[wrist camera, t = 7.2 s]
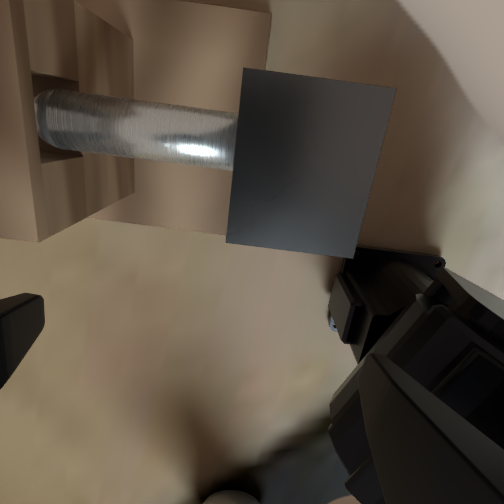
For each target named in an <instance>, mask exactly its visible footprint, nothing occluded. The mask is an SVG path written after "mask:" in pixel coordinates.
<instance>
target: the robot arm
mask: <svg viewBox="0 0 504 504" xmlns="http://www.w3.org/2000/svg"><path fill="white" fill-rule="evenodd" d="M355 250H356V251H357V254H356V255H354V257H353V259H352V258H344V261H343V265H342V269H341V273H338V274H337V275H336V276H335V280H334V285H333V289H332V293H331V297H330V301H329V305H328V307H329V310H330V312H331V314H330V318H329V326H330V329H331V330H333V331H337V332H338V334H339V336H340V339H341V340H342V342H343V343H344V344H350V346H351V349H352V351H353V354H354V356H355V359H356V361H357V364H358V365H357V366H356V368H355V369H354V370H353V371H352V373H351V374H350V375H349V376H348V377H347V379H346V380H345V381H344V382H343V384H342V385H341V386H340V387H339V388H338V390H337V391H336V392H335V393H334V395H333V397H332V400H331V402H330V416H331V423H332V424H331V425H330V426H329V428H328V432H329V435H330V438H331V441H332V443H333V446H334V448H335V451H336V453H337V454H338V456H339V458H340V460H341V462H342V463H343V465H344V467H345V469H346V470H347V472H348V474H349V475H350V477H349V478H348V479H347V480H346V481H345V487H346V488H347V490H348V491H349V492H350V493H351V494H352V495H353V496H354V497H355V498H356V499H357V500H358V501H359V502H360V503H361V504H504V300H502V299H501V298H499V297H497V296H495V295H493V294H492V293H490V292H488V291H486V290H484V289H483V288H481V287H479V286H477V285H475V284H474V283H472V282H470V281H468V280H466V279H465V278H463V277H461V276H459V275H457V274H456V273H454V272H452V271H450V270H448V269H447V268H445V264H446V262H445V260H444V259H443V258H442V257H440V256H438V255H432V254H424V253H416V252H408V251H400V250H392V249H384V248H376V247H368V246H360V245H356V249H355ZM436 261H439V263H438V264H437V265H435V266H434V263H435V262H436ZM44 323H45V315H44V299H43V297H42V296H41V295H36V294H31V293H22V294H19V295H15V296H11V297H8V298H4V299H0V389H1V388H2V387H3V386H4V384H5V383H6V382H7V381H8V379H9V378H10V377H11V375H12V374H13V372H14V371H15V370H16V368H17V367H18V365H19V364H20V362H21V361H22V359H23V358H24V356H25V355H26V353H27V352H28V350H29V349H30V347H31V346H32V345H33V343H34V342H35V340H36V339H37V337H38V336H39V334H40V333H41V331H42V329H43V327H44ZM334 323H335V325H333V324H334Z"/></svg>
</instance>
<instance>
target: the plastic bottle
mask: <svg viewBox="0 0 504 504" xmlns="http://www.w3.org/2000/svg"><path fill="white" fill-rule="evenodd" d="M203 504H260V503H259V502H258V501H257V499H256V498H254V497H253V496H251V495H250V494H248V493H245V492H242V491H237V490H224V491H219V492H216V493H214V494H212V495H210V496H209V497H208V498H207V499H206V500H205V502H204V503H203Z"/></svg>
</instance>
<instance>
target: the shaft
mask: <svg viewBox="0 0 504 504" xmlns="http://www.w3.org/2000/svg"><path fill="white" fill-rule="evenodd" d="M396 89H397V88H390V87H383V86H376V85H368V84H361V83H354V82H347V81H339V80H332V79H325V78H317V77H310V76H303V75H296V74H288V73H281V72H274V71H266V70H259V69H252V68H245V67H243V74H242V84H241V94H240V104H239V113H234V112H226V111H219V110H211V109H204V108H196V107H189V106H181V105H174V104H166V103H159V102H152V101H144V100H137V99H129V98H122V97H114V96H107V95H99V94H92V93H84V92H77V91H70V90H62V89H51V90H46V91H44V92H42V93H40V94H39V95H38V96H37V97H36V98H35V99H34V105H35V114H36V123H37V133H38V135H39V136H40V137H41V139H43V140H44V141H45V142H47V143H48V144H50V145H52V146H54V147H57V148H61V149H67V150H74V151H82V152H90V153H97V154H105V155H113V156H121V157H128V158H136V159H144V160H151V161H159V162H167V163H174V164H182V165H190V166H197V167H205V168H213V169H220V170H228V171H233V174H232V184H231V194H230V204H229V214H228V223H227V233H226V243H232V244H240V245H248V246H256V247H264V248H272V249H280V250H288V251H296V252H304V253H312V254H320V255H328V256H336V257H344V258H352V259H353V257H354V253H355V249H356V245H357V241H358V237H359V234H360V230H361V226H362V222H363V218H364V214H365V210H366V206H367V202H368V199H369V195H370V191H371V187H372V183H373V179H374V175H375V171H376V167H377V163H378V160H379V156H380V152H381V148H382V144H383V140H384V136H385V132H386V128H387V124H388V121H389V117H390V113H391V109H392V105H393V101H394V97H395V93H396Z"/></svg>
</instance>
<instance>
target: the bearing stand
mask: <svg viewBox="0 0 504 504" xmlns="http://www.w3.org/2000/svg"><path fill="white" fill-rule="evenodd" d="M271 19H272V13H265V12H258V11H251V10H244V9H237V8H230V7H223V6H216V5H209V4H202V3H194V2H187V1H180V0H0V238H4V239H12V240H20V241H28V242H36V243H39V242H41V241H43V240H44V239H46V238H48V237H50V236H52V235H54V234H56V233H58V232H60V231H62V230H64V229H66V228H67V227H69V226H71V225H73V224H75V223H77V222H79V221H81V220H83V219H85V218H93V219H101V220H109V221H117V222H125V223H133V224H140V225H148V226H156V227H164V228H172V229H180V230H188V231H196V232H204V233H212V234H220V235H226V233H227V223H228V214H229V204H230V194H231V184H232V174H233V171H228V170H220V169H213V168H205V167H197V166H190V165H182V164H174V163H167V162H159V161H151V160H144V159H136V158H128V157H121V156H113V155H105V154H97V153H90V152H82V151H74V150H67V149H61V148H57V147H54V146H52V145H50V144H48V143H47V142H45V141H44V140H43V139H41V137H40V136H39V135H38V133H37V123H36V114H35V105H34V99H35V98H36V97H37V96H38V95H39V94H40V93H42V92H44V91H46V90H51V89H62V90H70V91H77V92H84V93H92V94H99V95H107V96H114V97H122V98H129V99H137V100H144V101H152V102H159V103H166V104H174V105H181V106H189V107H196V108H204V109H211V110H219V111H226V112H234V113H239V104H240V94H241V84H242V74H243V67H245V68H252V69H259V70H265V68H266V60H267V52H268V44H269V36H270V27H271Z"/></svg>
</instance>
